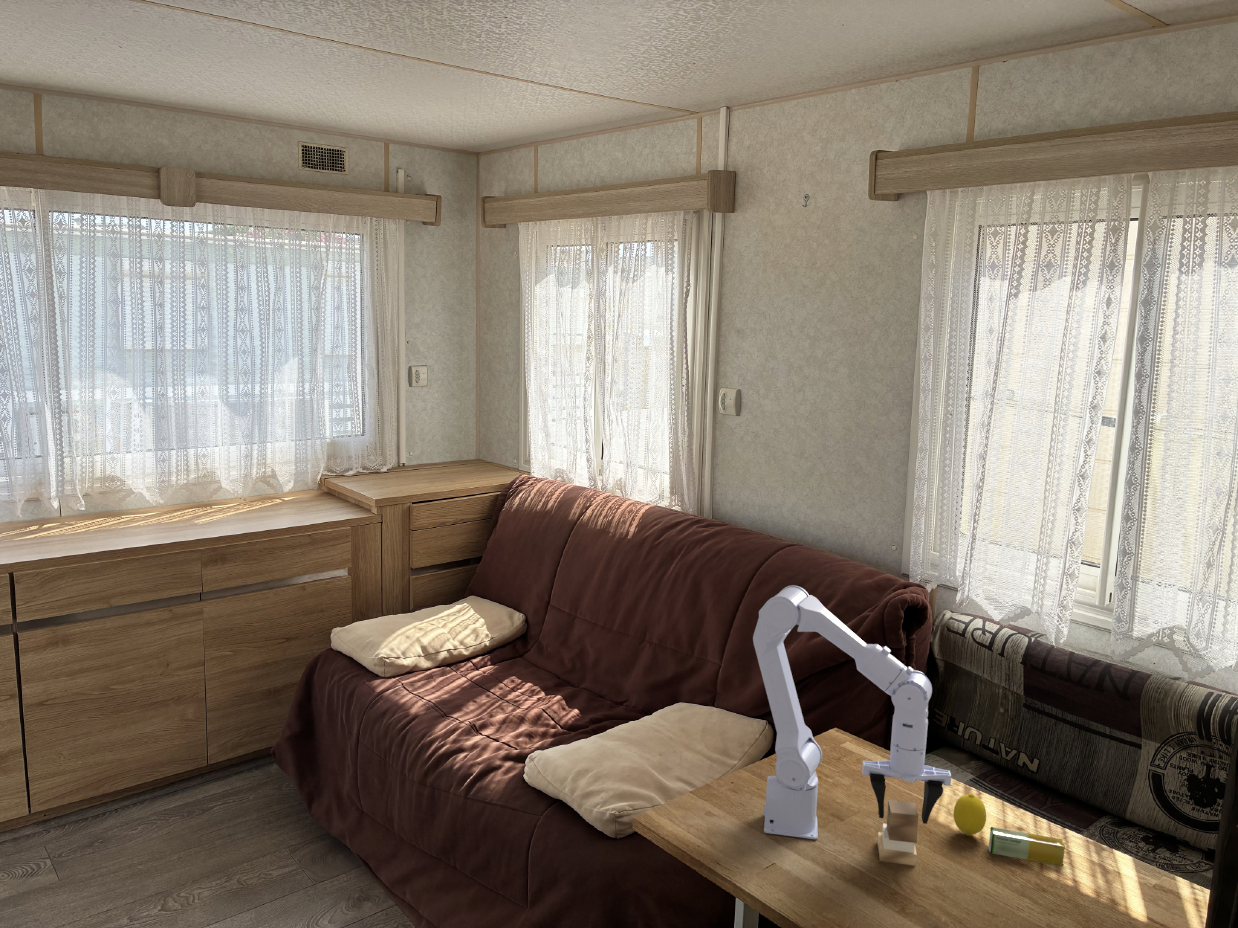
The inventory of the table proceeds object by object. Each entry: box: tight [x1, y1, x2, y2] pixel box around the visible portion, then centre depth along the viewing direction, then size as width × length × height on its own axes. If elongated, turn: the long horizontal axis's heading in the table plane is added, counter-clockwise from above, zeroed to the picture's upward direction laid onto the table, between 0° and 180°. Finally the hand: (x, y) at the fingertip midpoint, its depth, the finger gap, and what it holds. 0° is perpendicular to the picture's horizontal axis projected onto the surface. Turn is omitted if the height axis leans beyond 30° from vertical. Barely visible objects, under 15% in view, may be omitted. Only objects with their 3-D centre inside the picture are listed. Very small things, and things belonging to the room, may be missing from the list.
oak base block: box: [876, 831, 918, 867], centre depth 162 cm, size 6×6×2 cm
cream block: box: [881, 822, 916, 853], centre depth 161 cm, size 5×5×2 cm
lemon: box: [953, 793, 987, 837], centre depth 168 cm, size 6×6×8 cm
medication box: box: [987, 826, 1066, 866], centre depth 162 cm, size 12×3×4 cm, turn 74°
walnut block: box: [886, 799, 919, 844], centre depth 160 cm, size 4×4×5 cm
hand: (902, 817), depth 161 cm, fingers open, 7 cm apart
